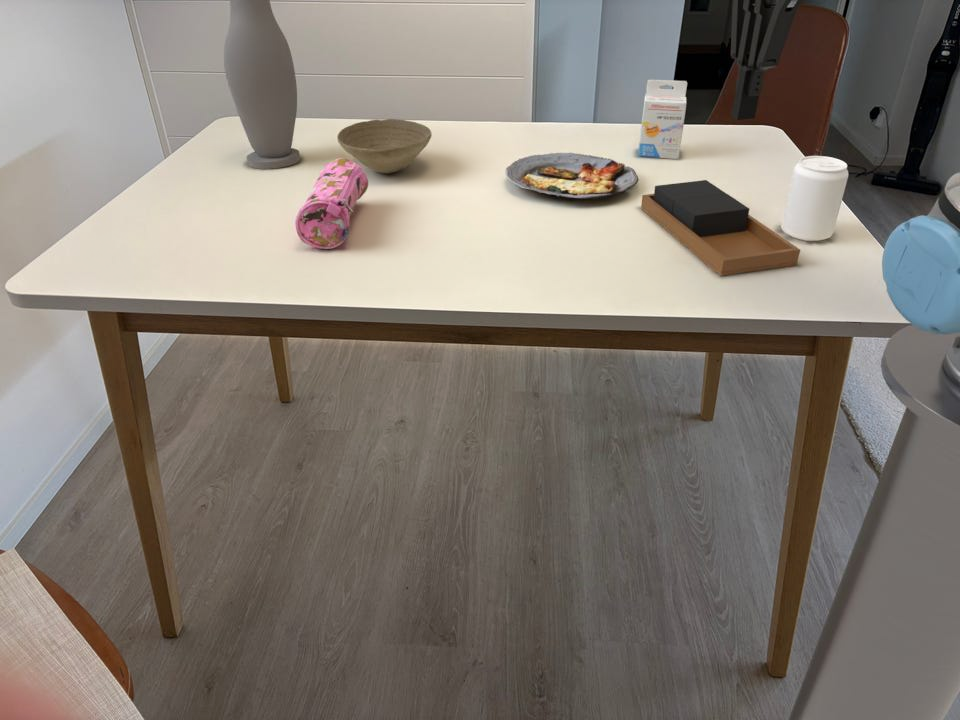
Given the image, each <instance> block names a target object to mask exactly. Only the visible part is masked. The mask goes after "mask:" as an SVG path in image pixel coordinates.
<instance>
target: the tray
mask: <svg viewBox="0 0 960 720" xmlns="http://www.w3.org/2000/svg"><path fill="white" fill-rule="evenodd" d="M653 199H654V193H648V194H642V195H641V205H640V209H641V210H642V211H643V212H644V213H646V215H647V216H649V217H650V218H651V219H653V220H654V221H655V222H656V223H657V224H659V225H660V226H661V227H662V228H663V229H664V230H665V231H667V233H669V234H670V235H671V236H672V237H674V238H675V239H676V240H677V241H679V242H680V243H681V244H682V245H683V246H684V247H685V248H687V249H688V250H689V251H690V252H692V253H693V255H695V256H696V257H697V258H699V259H700V260H701V261H702V262H704V263H705V264H706V265H707V266H708V267H709V268H710V269H712V270H713V271H714V272H715V273H716V274H718V275H719V276H720V277H724V276H731V275H738V274H744V273H751V272H758V271H764V270H771V269H777V268H779V269H780V268H785V267H793V266H797V265H798V261H799V259H800V254H801V248H799V247H797V246H796V245H795V244H793V243H792V242H790V241H789V240H788V239H785V238H784V237H782V236H781V235H780V234H778V233H776V232H775V231H774V230H772V229H771V228H769V227H768V226H767V225H765V224H763V223H762V222H760V221H759V220H757V218H754V217H753V216H751V215H750V213H749V214H748V219H747V224H746V229H745V231H742V232H735V233H727V234H720V235H712V236H705V237H699V236H698V235H696V234H695V233H694V232H693V231H691V230H690V229H689V228H688V227H686V226H685V225H684V224H683V223H681V222H680V221H679V220H678V219H676V218H675V217H674V216H673V215H671V214H670V213H669V212H668V211H666V210H665V209H664V208H663V207H661V206H660V205H659V204H658V203H656V202H655V201H654V200H653Z"/></svg>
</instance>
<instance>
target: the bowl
mask: <svg viewBox="0 0 960 720" xmlns="http://www.w3.org/2000/svg"><path fill="white" fill-rule="evenodd" d="M431 138H432V130H431V129H430V128H429V127H427V126H426V125H424V124H422V123H420V122H419V123H418V122H416V121H411V120H406V119H396V118H389V119H371V120H367V121H360V122H355V123H353V124H351V125H348V126H346V127H343V129H341V130H340V131H339V132H338V133H337V136H336V139H337V143H338V144H339V145H340V146H341V148H342V149H343V150H344V151H345V152H346V153H348V154H349V155H350V156H352V157H353V158H354V159H355V160H357V161H359V162H360V163H361V164H362V165H363V166H364V167H366V168H367V169H369V170H372V171H374V172H377V173H381V174H392V173H397V172H399V171H402V170H403V169H404V168H406V167H407V166H409V165H410V164H411V163H412V162H413V161H414V160H415V159H416V158H417V157H418V156H419V155H420V154H421V152H423V150H424V149H425V148H426V147H427V146H428V145H429V142H430V141H431Z"/></svg>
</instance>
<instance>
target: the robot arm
mask: <svg viewBox="0 0 960 720" xmlns="http://www.w3.org/2000/svg"><path fill="white" fill-rule="evenodd" d="M803 1H804V0H732V10H731V11H732V13H731V15H732V16H731V37H730V38H731V39H730V58H731V59H732V60H735V61H736V65H737V67H738V72H737V78H736V84H735V95H734V101H733V106H732V111H731V118H732V119H734V120H736V121H742V120H752V119H756V114H757V109H758V104H759V98H760V95H761V92H762V88H763V84H764V78H765V74H766V70H768V69H771V68H772V69H773V68H777V67H778V65H779V62H780V59H781V56H782V54H783V51H784V48H785V45H786V42H787V39H788V37H789V34H790V31H791V28H792V26H793V22H794V19H795V17H796V13H797V11H798V9H799V7H800V5H801V4H802V3H803ZM881 273H882V279H883V281H884V283H885V287H886V292H887V295H888V297H889V299H890V301H891V303H892V304H893V306H894V308H895V309H896V311H898V313H899V314H900V315H901V316H902V317H903V318H904V319H905V320H906V321H907V322H909V323H910V325H914V326H915V327H917V328H919V329H921V330H924V331H926V332H929V333H934V334H952V333H959V334H958V335H957V336H956V337H955V338H954V339H953V341H952V342H951V344H950V345H949V347H948V349H947V352H946V354H945V357H944V360H943V365H944V369H945V371H946V373H947V375H948V376H949V377H950V379H951V380H952V381H953V382H954V383H955V384H957V385H958V386H959V387H960V171H959V172H956V173H954V174H953V175H951V176H950V177H949V179H947V181H946V183H945V184H944V187H943V188H942V190H941V191H940V193H939V195H938V197H937V199H936V201H935V202H934V205H933V207H932V208H931V210H930V211H929V212H928V214H927V215H918V216H914V217H911V218H909V219H908V220H906V221H904V222H902V223H900V224H899V225H898V226H896V228H894V229H893V231H892V232H891V233H890V235H889V236H888V238H887V240H886V243H885V245H884V248H883V252H882V258H881Z"/></svg>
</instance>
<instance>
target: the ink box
mask: <svg viewBox="0 0 960 720" xmlns="http://www.w3.org/2000/svg"><path fill="white" fill-rule="evenodd" d="M666 85H667V86H669V87H672V89H671V88H660V87H665V86H666ZM687 87H688V82H687V80H672V79H671V80H669V79H648V80H647V81H646V90H645V95H644V99H643V100H644V101H643V109H642V116H641V117H642V118H641V126H640V135H639V143H638V144H639V145H638V157H641V158H656V159H671V160H679V159H680V152H681V145H682V138H683V130H684V124H685V117H686V112H687V111H686V110H687V96H686V94H687Z"/></svg>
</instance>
